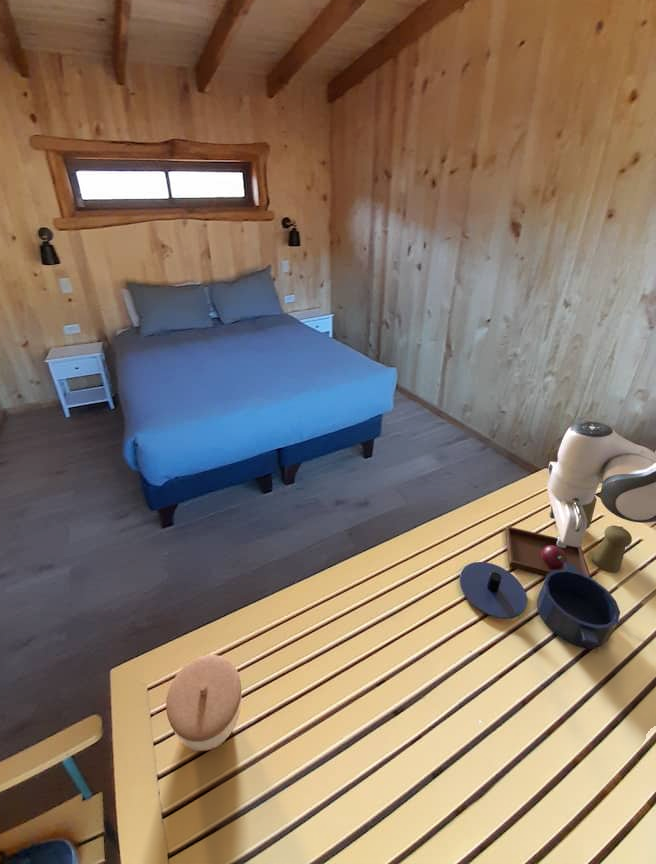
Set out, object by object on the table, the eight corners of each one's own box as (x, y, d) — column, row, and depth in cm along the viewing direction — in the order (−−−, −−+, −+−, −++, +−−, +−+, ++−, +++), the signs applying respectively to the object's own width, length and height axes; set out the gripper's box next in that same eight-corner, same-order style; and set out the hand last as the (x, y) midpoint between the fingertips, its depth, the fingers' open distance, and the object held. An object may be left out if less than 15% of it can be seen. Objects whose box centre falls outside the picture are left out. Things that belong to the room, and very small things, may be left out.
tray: (577, 548, 104) (580, 543, 103) (589, 588, 94) (592, 582, 93) (505, 531, 110) (506, 526, 109) (509, 567, 100) (510, 561, 99)
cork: (594, 548, 104) (608, 517, 99) (622, 562, 100) (638, 530, 95) (588, 562, 100) (602, 531, 95) (617, 577, 97) (633, 545, 92)
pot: (595, 590, 94) (605, 569, 91) (621, 672, 78) (634, 651, 75) (531, 573, 98) (538, 553, 95) (543, 648, 82) (552, 627, 79)
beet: (560, 548, 101) (575, 551, 95) (557, 569, 100) (571, 573, 94) (539, 541, 102) (551, 543, 96) (535, 562, 101) (548, 565, 95)
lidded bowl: (180, 781, 65) (169, 748, 60) (169, 699, 76) (159, 666, 71) (254, 741, 70) (249, 708, 65) (234, 669, 80) (229, 636, 75)
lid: (522, 574, 98) (527, 560, 95) (530, 630, 86) (536, 615, 84) (459, 558, 102) (462, 544, 100) (458, 608, 90) (462, 593, 88)
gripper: (601, 521, 82) (582, 568, 88) (577, 462, 99) (563, 505, 105) (565, 514, 84) (549, 560, 90) (548, 457, 101) (535, 499, 107)
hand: (556, 530), depth 97 cm, fingers open, 8 cm apart
